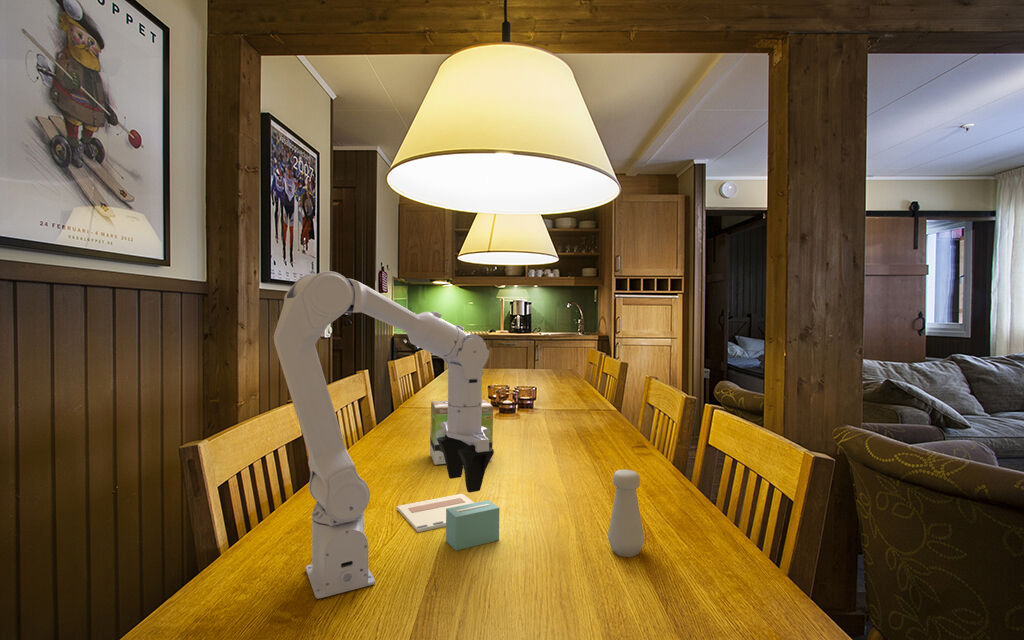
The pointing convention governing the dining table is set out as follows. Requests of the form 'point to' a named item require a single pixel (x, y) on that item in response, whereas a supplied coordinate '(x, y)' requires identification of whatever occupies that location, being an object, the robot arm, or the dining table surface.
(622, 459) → the dining table surface
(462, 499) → the white card
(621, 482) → the salt shaker
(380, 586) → the dining table surface
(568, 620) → the dining table surface
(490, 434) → the tea box
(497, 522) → the teal rectangular block
